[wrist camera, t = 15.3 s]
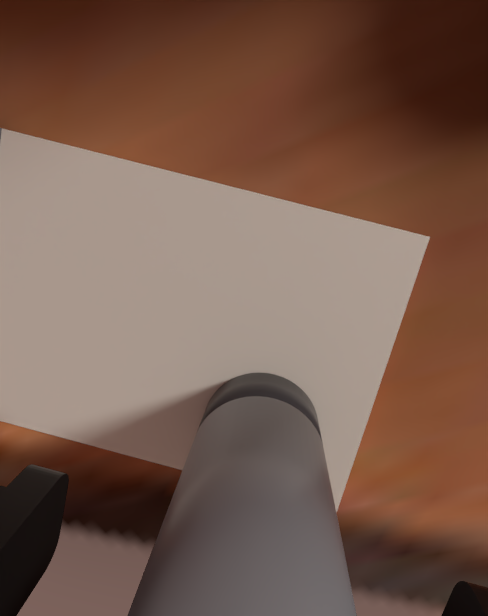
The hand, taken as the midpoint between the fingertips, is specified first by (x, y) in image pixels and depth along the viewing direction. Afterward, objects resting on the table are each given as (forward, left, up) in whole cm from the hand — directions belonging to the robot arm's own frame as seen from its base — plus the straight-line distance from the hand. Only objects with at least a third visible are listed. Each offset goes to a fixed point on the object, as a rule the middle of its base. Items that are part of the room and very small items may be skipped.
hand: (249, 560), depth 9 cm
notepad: (-2, -4, -7) cm, 8 cm away
